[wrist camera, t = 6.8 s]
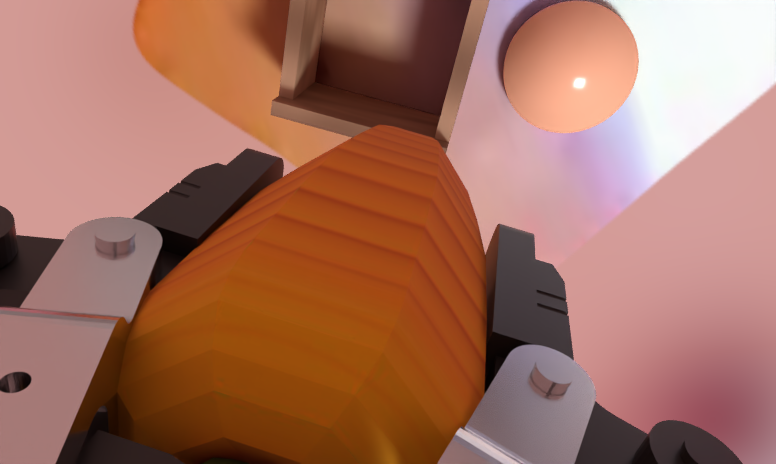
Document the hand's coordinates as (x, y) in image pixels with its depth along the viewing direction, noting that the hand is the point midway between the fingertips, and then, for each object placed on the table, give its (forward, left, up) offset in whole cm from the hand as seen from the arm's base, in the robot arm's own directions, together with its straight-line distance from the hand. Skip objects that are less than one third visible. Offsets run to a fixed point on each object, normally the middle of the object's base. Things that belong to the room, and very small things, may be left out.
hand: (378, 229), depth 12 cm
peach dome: (0, +6, -23) cm, 24 cm away
